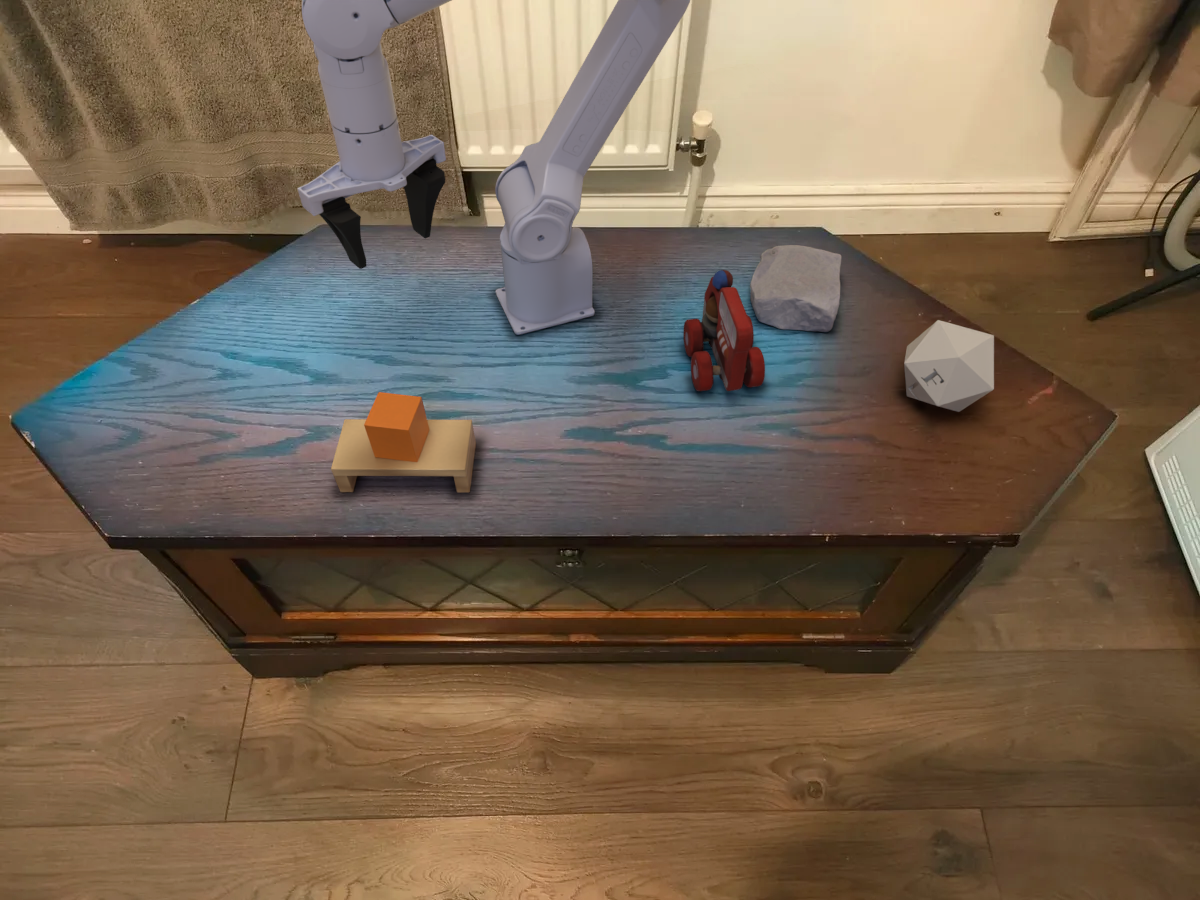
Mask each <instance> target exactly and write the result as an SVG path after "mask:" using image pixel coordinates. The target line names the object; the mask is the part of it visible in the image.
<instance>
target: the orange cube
mask: <svg viewBox="0 0 1200 900" xmlns="http://www.w3.org/2000/svg"><path fill="white" fill-rule="evenodd" d="M365 419H366V421H365V424H364V427H365V430H366V432H367V435H368V438H369V441H370V444H371V447H372V450H373V453H374V456H375V457H377V458H385V459H394V460H402V461H410V462H418V459H419V456H420V454H421V451H422V448H423V446H424V443H425V440H426V438H427V435H428V432H429V425H428V421H427V420H428V418H427V413H426V409H425V406H424V402H423V398H422V396H419V395H409V394H399V393H391V392H381V391H379V392H377V394H376V396H375V399H374V401H373V404H372V405H371V408H370V410H369V412H368V415H367V417H366V418H365Z"/></svg>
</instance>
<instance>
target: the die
mask: <svg viewBox="0 0 1200 900" xmlns="http://www.w3.org/2000/svg"><path fill="white" fill-rule="evenodd" d="M904 356H905V357H904V361H903V364H904V378H905V389H906V391H905V393H906V397H908V398H911V399H914V400H918V401H921V402H923V403H927V404H930V405H933V406H936V407H940V408H943V409H947V410H950V411H954V412H957V413H959V412H961V411H963V410H964V409H966V408H968V407H969V406H971V405H972V404H974V403H975V402H977V401H979V400H980V399H981V398H983V397H984V396H986V395H987V394H989V393H991V392H993V390H995V335H994V334H990V333H987V332H984V331H979V330H977V329H973V328H968V327H964V326H961V325H958V324H954V323H952V322H951V323H950V322H948V321H943V320H940V319H937V320H936V321H935V322H934V323H933V324H931V325H930V326H929V327H928V328H926V330H924V331H923V332H922V333H921V334H920V335H918V336H917V337H916V338H914V340H912V341H911V342H909V344H908V345H906V351H905V355H904Z"/></svg>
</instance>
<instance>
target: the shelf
mask: <svg viewBox="0 0 1200 900" xmlns="http://www.w3.org/2000/svg"><path fill="white" fill-rule="evenodd" d="M366 419H367V418H365V419H364V418H345V419H344V420H343V424H342V427H341V431H340V434H339V438H338V442H337V446H336V448H335V453H334V457H333V460H332V463H331V467H330V470H331V473H332V475H333V477H334V480H335V482H336V485H337V487H338V490H339V492H340V493H354V490H355V486H356V482H357V478H358V477H365V476H366V477H453V480H454V485H455V490H456V493H470V492H471V486H472V478H473V470H474V462H475V454H476V446H477V443H476V442H477V441H476V436H475V435H476V434H475V430H474V423H473V420H472V419H427V421H428V425H429V432H428V435H427V438H426V440H425V443H424V446H423V448H422V451H421V454H420V456H419V459H418V462H410V461H402V460H394V459H385V458H377V457H375V456H374V453H373V450H372V447H371V444H370V441H369V438H368V435H367V432H366V430H365V427H364V424H365V421H366Z"/></svg>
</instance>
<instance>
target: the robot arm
mask: <svg viewBox="0 0 1200 900" xmlns="http://www.w3.org/2000/svg"><path fill="white" fill-rule="evenodd" d="M452 1H453V0H301V16H302V17H301V18H302V21H303V26H304V28H305V32H306V33H307V36H308V37H309V39H310V40H311V41H312V42H313V44H312V45H313V50H314V55H315V58H316V59H317V61H318V65H317V73H318V75H319V76H318V77H319V80H320V85H321V89H322V93H323V98H324V102H325V105H326V106H325V107H326V109H327V114H328V118H329V122H330V125H331V130H332V134H333V138H334V142H335V146H336V150H337V155H338V159H339V161H338V162H336V163H334V165H332V166H331V167H329V168H328V169H327V170H325V171H324V172H322V173H321V174H319V175H318V176H317V177H315V178H314V179H313V180H311V181H310V182H307V183H305V184H303V185H301V186H300V187H297V192H298V196H299V199H300V202H301V205H302V208H303V209H304V210H306V211H307V212H308V213H309V214H311V215H312V216H313V217H316V216H318V215H319V216H320V217H321V218H322V219H323V221H324V222H325V223H326V224H327V226H328V227H329V228H330V229H331V230H332V232H333V233H334V235H335V236H336V237H337V239H338V241H339V242H340V244H341V246H342V247H343V250H344V251H345V254H346V255H347V257H348V259H349V262H351V263H352V264H353V265H355V267H357V268H358V269H359V270H361V269H364V268H367V258H366V254H365V249H364V246H363V243H362V242H363V241H362V235H361V220H362V216H361V215H359V213H357V212H355V211H354V210H353V209H352V208H351V204H350V203H348V202H347V200H346V199H348V198H349V197H352V196H355V195H358V194H361V193H363V194H364V193H367V192H372V191H379V190H383V189H384V190H386V191H387V192H395V191H397V190H400V189H402V188H403V190H404V193H405V197H406V201H407V207H408V213H409V218H410V223H411V226H412V229H413V231H414V232H415V233H417V234H418V235H419V236H421V237H422V238H423V239H424V240H425V239H427V238H430V237H431V233H432V232H431V231H432V225H433V216H434V213H435V207H436V204H437V201H438V198H439V196H440V193H441V191H442V189H443V187H444V185H445V183H446V174H445V171H444V169H441V168H440V167H439V166H437V165H438V164H442V163H443V162H445V161H447V158H446V157H447V156H446V149H445V142H444V141H442V140H441V139H439V138H438V137H436V136H435V135H433V134H429V135H426V136H424V137H420V138H415V139H410V140H404V141H402V137H401V136H402V135H401V131H400V125H399V119H398V115H397V108H396V102H395V97H394V91H393V90H394V89H393V86H392V79H391V74H390V68H389V63H388V60H387V58H386V57H385V55H384V54H383V48H382V43H381V41H382V37H383V34H384V32H385V31H386V30H388V29H394V28H397V27H399V26H400V25H403V24H405V23H407V22H409V21H411V20H414V19H416V18H418V17H420V16H422V15H425V14H426V13H428V12H430V11H433V10H434V9H437V8H440V7H441V6H443V5H445V4H447V3H449V2H452ZM690 3H691V0H617V2H616V4H615V5H614V7H613V9H612V11H611V12H610V14H609V16H608V18H607V19H606V21H605V23H604V24H603V27H602V29H601V30H600V32H599V34H598V35H597V37H596V39H595V40H594V43H593V45H592V47H591V48H590V50H589V52H588V54H587V56H586V57H585V59H584V61H583V63H582V64H581V66H580V68H579V70H578V72H577V73H576V75H575V77H574V79H573V80H572V82H571V84H570V86H569V88H568V89H567V92H566V93H565V94H564V96H563V98H562V101H561V102H560V103H559V105H558V107H557V109H556V111H555V112H554V115H553V116H552V118H551V120H550V122H549V124H548V126H547V127H546V129H545V130H544V132H543V134H542V137H541V138H540V140H539V141H538V142H535V143H531V144H528V145H526V146H525V147H524V149H523V150H522V152H521V153H520V155H519V157H518V158H517V159H516V160H515V161H514V162H512V163H511V164H510V165H508V166H506V168H504V169H503V170H502V171H501V173H500V174H499V176H498V177H497V179H496V182H495V188H494V191H495V197H496V200H497V202H498V204H499V206H500V208H501V213H502V217H503V220H504V225H503V227H502V229H501V231H500V235H499V246H500V255H501V264H502V274H503V282H504V287H500V288H496V289H495V296H496V298H497V299H498V302H499V304H500V306H501V309H502V310H503V312H504V314H505V316H506V318H507V320H508V323H509V324H510V326H511V329H512V331H513V332H514V334H515V335H523V334H527V333H532V332H535V331H540V330H543V329H546V328H552V327H555V326H558V325H562V324H566V323H570V322H571V323H572V322H575V321H579V320H582V319H586V318H590V317H594V316H595V314H596V313H595V308H594V307H593V269H594V268H593V267H594V266H593V259H592V253H591V247H590V245H589V241H588V239H587V237H586V235H585V233H584V231H583V230H582V229H581V228H580V227H578V226H573V224H574V221H575V219H576V217H577V215H578V214H579V212H580V211H581V206H582V205H581V204H582V193H583V185H584V178H585V175H586V174H587V172H588V171H589V169H590V168H591V166H592V164H593V162H594V161H595V159H596V158H597V156H598V155H599V153H600V151H601V150H602V148H603V146H604V145H605V143H606V142H607V140H608V139H609V137H610V135H611V133H612V132H613V130H614V128H615V127H616V125H617V123H618V122H619V120H620V119H621V117H622V115H623V114H624V112H625V111H626V109H627V107H628V106H629V104H630V102H631V101H632V99H633V97H635V94H636V93H637V91H638V89H639V88H640V86H641V84H642V83H643V81H644V80H645V78H646V76H647V75H648V73H649V72H650V70H651V68H652V67H653V66H654V63H655V62H656V61H657V59H658V57H659V55H660V54H661V52H662V51H663V49H664V47H665V46H666V45H667V43H668V41H669V40H670V37H671V36H672V34H673V33H674V31H675V29H676V28H677V26H678V25H679V23H680V21H681V19H682V18H683V17H684V14H685V13H686V12H687V10H688V7H689V5H690Z"/></svg>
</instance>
